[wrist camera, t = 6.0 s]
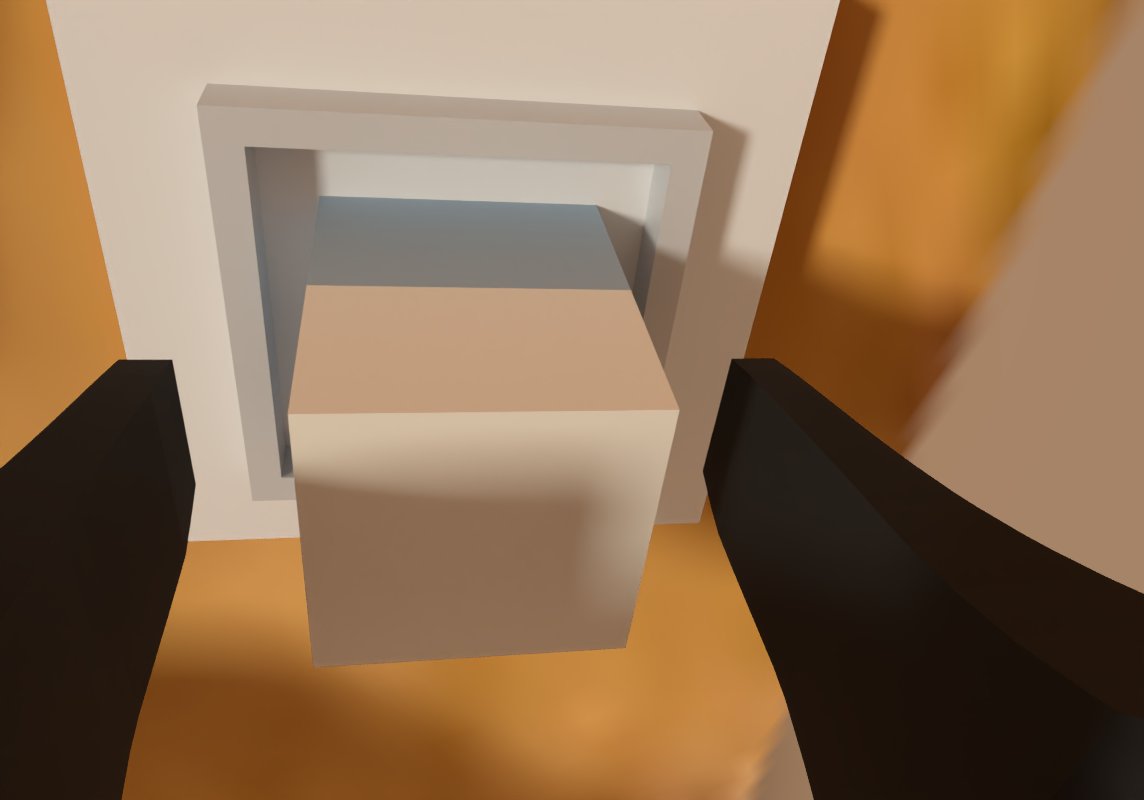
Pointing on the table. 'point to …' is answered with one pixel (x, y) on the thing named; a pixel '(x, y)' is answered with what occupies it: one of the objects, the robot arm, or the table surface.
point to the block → (472, 432)
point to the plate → (424, 179)
